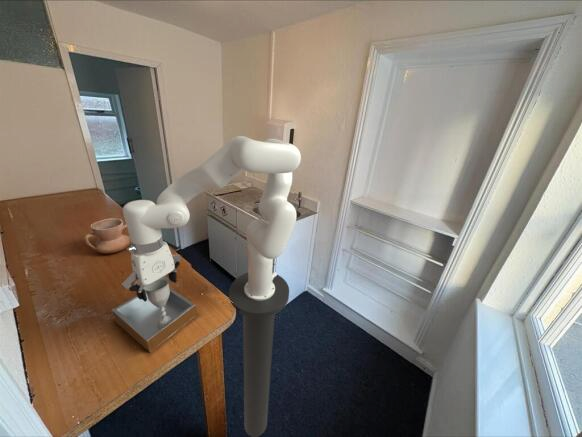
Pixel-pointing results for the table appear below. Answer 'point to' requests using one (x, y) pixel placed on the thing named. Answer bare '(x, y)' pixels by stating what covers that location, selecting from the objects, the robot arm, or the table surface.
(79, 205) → the table surface
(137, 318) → the grey rectangular tray
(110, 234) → the ceramic jug
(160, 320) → the chalice
